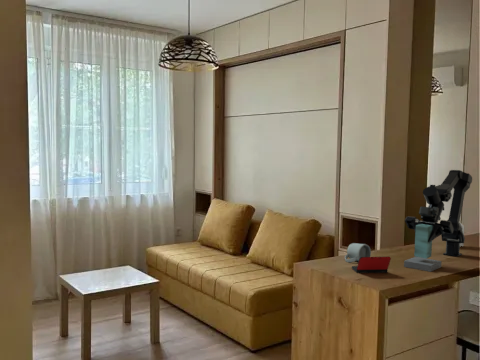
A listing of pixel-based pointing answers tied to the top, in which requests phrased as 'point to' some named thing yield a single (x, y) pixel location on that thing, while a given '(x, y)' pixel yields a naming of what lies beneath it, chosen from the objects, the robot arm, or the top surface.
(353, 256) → the ceramic mug
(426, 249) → the teal block
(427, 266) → the gray square slab
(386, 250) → the top surface
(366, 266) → the handheld game console
